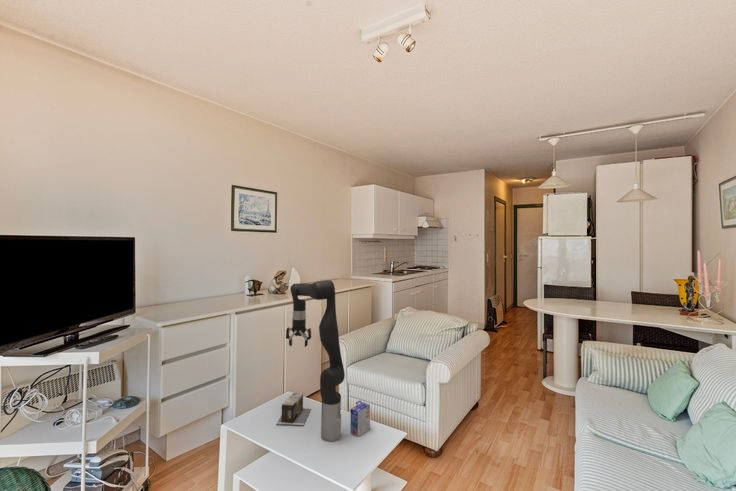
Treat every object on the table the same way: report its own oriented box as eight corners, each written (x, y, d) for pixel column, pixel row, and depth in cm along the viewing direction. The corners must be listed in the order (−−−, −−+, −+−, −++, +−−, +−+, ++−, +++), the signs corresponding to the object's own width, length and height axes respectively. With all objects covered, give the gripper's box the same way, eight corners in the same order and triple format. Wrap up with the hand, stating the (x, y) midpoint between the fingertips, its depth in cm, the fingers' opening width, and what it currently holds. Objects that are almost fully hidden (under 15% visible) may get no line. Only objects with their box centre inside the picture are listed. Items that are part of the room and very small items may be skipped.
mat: (310, 409, 189) (310, 408, 189) (303, 426, 171) (303, 424, 171) (286, 408, 189) (286, 406, 189) (276, 425, 171) (276, 423, 171)
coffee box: (303, 408, 187) (292, 423, 171) (292, 407, 188) (280, 422, 172) (303, 392, 187) (293, 406, 171) (292, 391, 188) (281, 404, 172)
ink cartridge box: (362, 425, 173) (362, 397, 173) (370, 429, 170) (371, 400, 170) (349, 433, 165) (350, 403, 166) (357, 437, 162) (358, 407, 162)
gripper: (285, 318, 190) (284, 347, 190) (310, 319, 189) (309, 348, 189) (288, 316, 198) (287, 343, 197) (312, 317, 197) (311, 344, 197)
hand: (298, 346), depth 193 cm, fingers open, 8 cm apart
